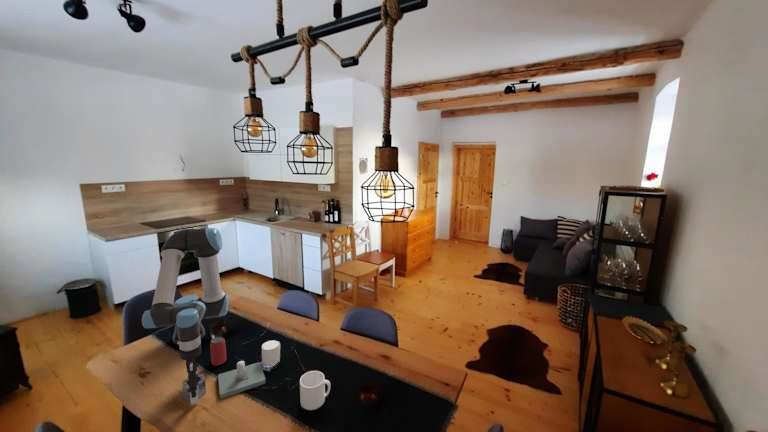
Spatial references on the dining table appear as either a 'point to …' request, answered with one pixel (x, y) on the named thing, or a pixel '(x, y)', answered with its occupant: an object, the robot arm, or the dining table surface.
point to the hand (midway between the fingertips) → (194, 391)
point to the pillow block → (241, 379)
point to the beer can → (218, 351)
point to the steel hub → (200, 386)
